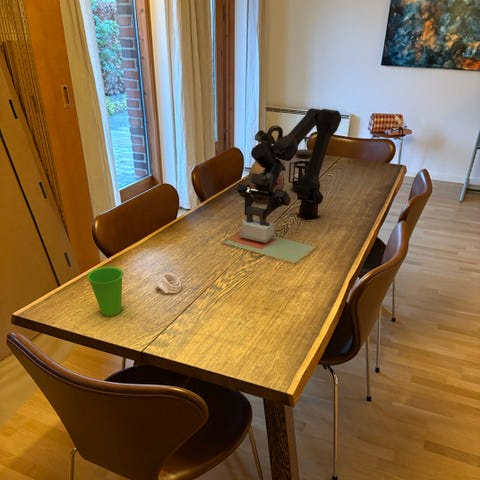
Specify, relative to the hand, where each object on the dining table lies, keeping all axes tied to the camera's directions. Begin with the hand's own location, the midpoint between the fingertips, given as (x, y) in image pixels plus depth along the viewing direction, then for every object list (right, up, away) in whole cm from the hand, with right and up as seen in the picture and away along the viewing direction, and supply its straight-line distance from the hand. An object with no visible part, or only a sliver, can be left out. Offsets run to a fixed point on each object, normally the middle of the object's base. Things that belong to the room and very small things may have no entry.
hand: (254, 216), depth 159 cm
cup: (-39, -33, -33) cm, 61 cm away
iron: (+1, -6, +5) cm, 8 cm away
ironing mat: (+5, -9, +3) cm, 11 cm away
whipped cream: (-25, -26, -23) cm, 43 cm away
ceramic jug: (+7, +17, +44) cm, 48 cm away
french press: (+23, +24, +55) cm, 64 cm away
